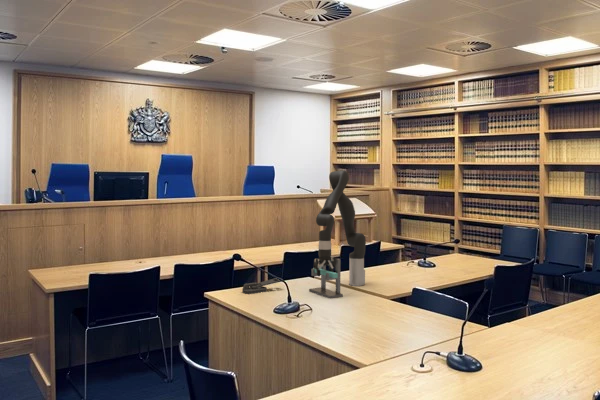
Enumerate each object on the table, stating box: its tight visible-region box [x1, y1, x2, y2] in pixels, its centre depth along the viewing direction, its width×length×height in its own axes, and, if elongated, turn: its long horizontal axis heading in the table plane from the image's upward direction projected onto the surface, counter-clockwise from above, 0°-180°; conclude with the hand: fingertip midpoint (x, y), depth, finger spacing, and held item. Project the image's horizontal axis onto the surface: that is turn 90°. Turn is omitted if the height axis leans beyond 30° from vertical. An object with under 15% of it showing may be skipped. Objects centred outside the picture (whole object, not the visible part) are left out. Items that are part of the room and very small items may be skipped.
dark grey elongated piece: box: [241, 277, 283, 295], centre depth 322 cm, size 9×7×25 cm
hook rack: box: [308, 258, 344, 300], centre depth 313 cm, size 9×22×22 cm, turn 32°
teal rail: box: [312, 267, 338, 278], centre depth 313 cm, size 2×22×2 cm, turn 32°
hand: (324, 275), depth 313 cm, fingers open, 8 cm apart
